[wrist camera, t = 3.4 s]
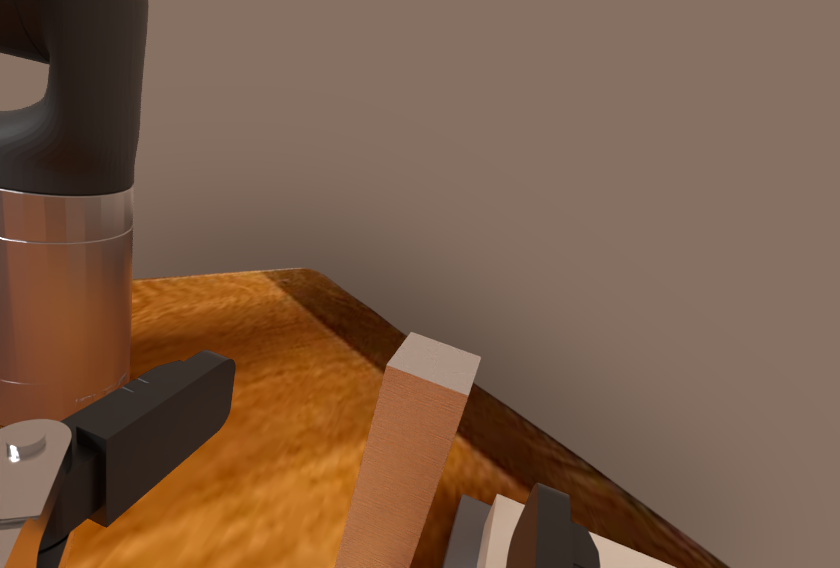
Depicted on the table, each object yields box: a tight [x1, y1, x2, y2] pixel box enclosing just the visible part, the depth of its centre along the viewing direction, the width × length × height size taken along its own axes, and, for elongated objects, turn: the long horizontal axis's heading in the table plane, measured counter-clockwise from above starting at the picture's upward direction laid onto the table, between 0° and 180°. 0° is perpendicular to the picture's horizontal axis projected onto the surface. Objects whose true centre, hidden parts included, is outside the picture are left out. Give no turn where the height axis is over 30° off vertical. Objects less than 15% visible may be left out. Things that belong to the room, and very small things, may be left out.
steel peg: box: [334, 332, 481, 568], centre depth 26 cm, size 4×4×16 cm
